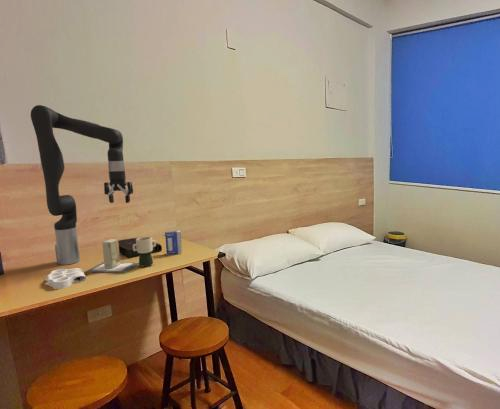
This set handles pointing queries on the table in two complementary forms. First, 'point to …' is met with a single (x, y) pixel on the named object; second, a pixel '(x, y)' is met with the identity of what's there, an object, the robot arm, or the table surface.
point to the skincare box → (111, 253)
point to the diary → (127, 248)
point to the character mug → (144, 250)
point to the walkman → (173, 242)
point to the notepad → (118, 269)
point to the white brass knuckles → (64, 277)
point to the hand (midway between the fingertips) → (119, 202)
